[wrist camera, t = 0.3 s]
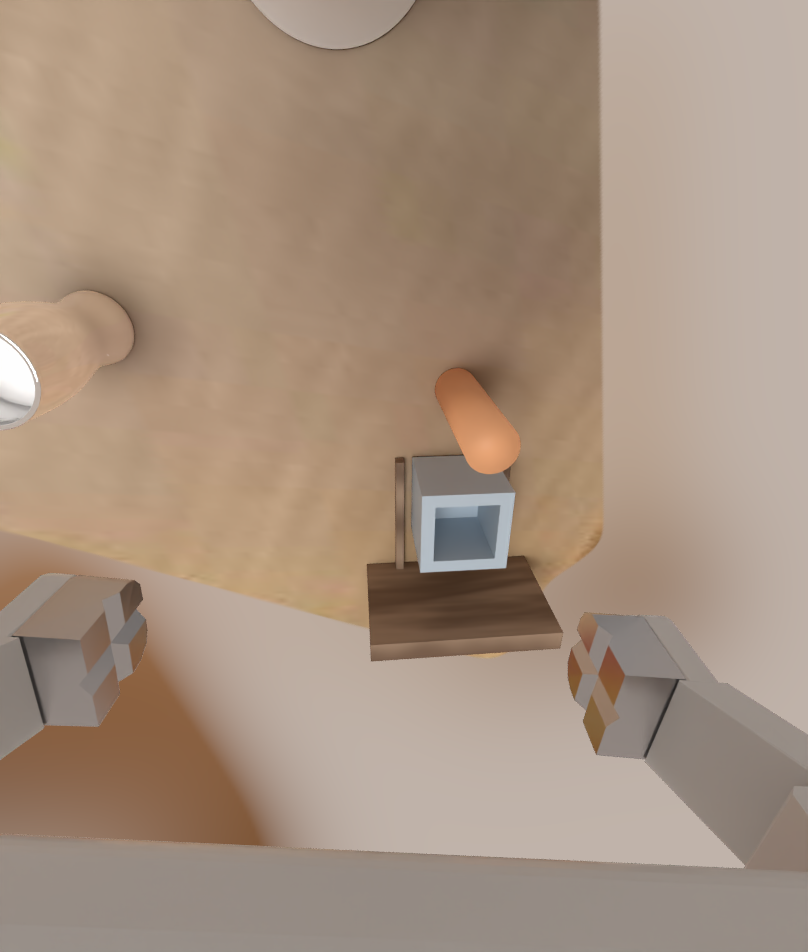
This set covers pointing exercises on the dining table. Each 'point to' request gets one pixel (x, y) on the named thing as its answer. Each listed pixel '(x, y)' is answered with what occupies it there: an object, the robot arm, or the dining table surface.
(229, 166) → the dining table surface
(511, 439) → the dowel
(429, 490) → the socket block
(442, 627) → the backstop wall
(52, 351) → the beer glass
